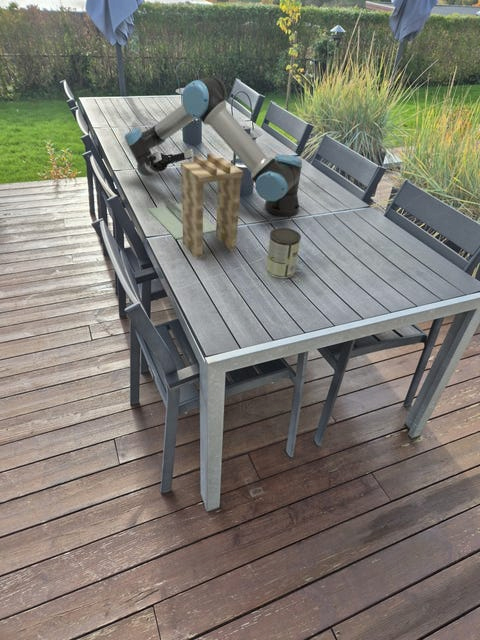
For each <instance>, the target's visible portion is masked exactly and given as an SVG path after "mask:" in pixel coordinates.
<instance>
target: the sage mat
mask: <svg viewBox="0 0 480 640" xmlns="http://www.w3.org/2000/svg"><path fill="white" fill-rule="evenodd" d="M174 204H175V203H174ZM175 205H176V206H177V207H178V208H179V209H180V210H182V202H180V203H176V204H175ZM148 211H149V213H150V214H151V215H152V216H153V217H154V218H155V219H156V220H157V222H158V223H160V224H161V226H162V227H163V228H165V230H166V229H167V230H168V231H169V232H170V233H171V234H170V233H169V232H168V231H167V230H166V231H167V232H168V233H169V234H170V236H172V237H173V238H174V239H175V240H176V239H178V240H181V239H180V238H183V222H182V221H181V220H180V219H179V218H178V217H177V216H176V215H175V214H174V213H173V212H172V211H171V210H170V209H169V208H168V207H167V206H166V205H162V206H157V207H151V208H148ZM182 211H183V210H182ZM214 231H216V226H214V225H213V224H212V223H211V222H210V221H209V220H208V219H206V218H205V217H204V216H203V235H205V234H204V233H206V234H211V233H215V232H214ZM210 232H211V233H210Z"/></svg>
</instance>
